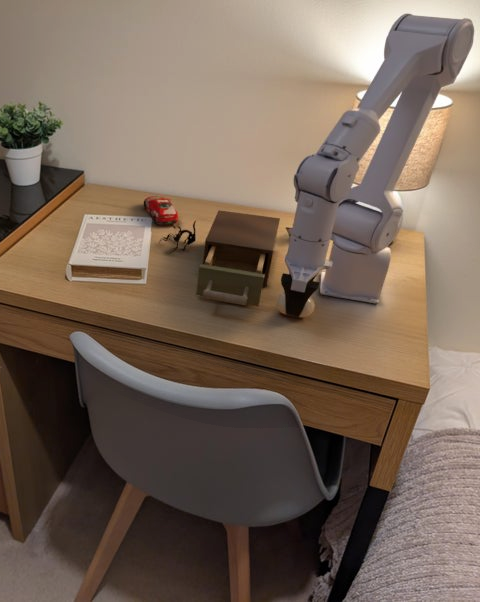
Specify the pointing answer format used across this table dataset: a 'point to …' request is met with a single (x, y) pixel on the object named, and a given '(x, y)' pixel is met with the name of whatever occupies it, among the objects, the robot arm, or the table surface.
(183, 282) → the table surface
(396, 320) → the table surface
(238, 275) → the drawer
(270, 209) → the table surface
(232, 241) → the cabinet
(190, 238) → the creature
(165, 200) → the race car
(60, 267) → the table surface
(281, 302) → the egg
